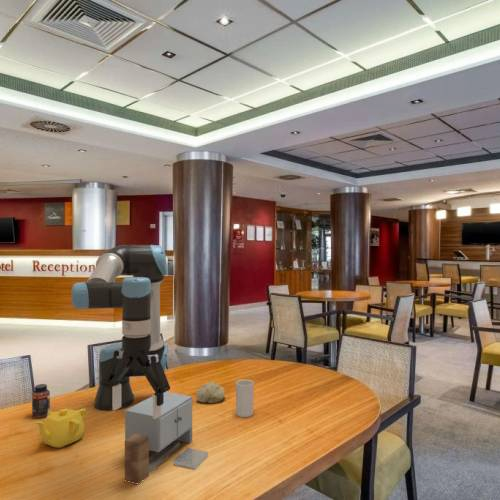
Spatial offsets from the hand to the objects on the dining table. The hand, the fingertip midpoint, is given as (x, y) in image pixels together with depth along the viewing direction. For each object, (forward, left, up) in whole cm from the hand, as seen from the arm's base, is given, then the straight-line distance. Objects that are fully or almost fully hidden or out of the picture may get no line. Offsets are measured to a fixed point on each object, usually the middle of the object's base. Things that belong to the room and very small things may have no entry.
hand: (136, 412), depth 113 cm
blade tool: (0, +9, -18) cm, 20 cm away
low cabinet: (-4, +16, -18) cm, 24 cm away
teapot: (-36, +7, -18) cm, 41 cm away
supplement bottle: (-60, +19, -18) cm, 65 cm away
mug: (+7, +53, -18) cm, 56 cm away
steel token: (+8, +14, -19) cm, 25 cm away
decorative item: (-10, +59, -18) cm, 63 cm away
